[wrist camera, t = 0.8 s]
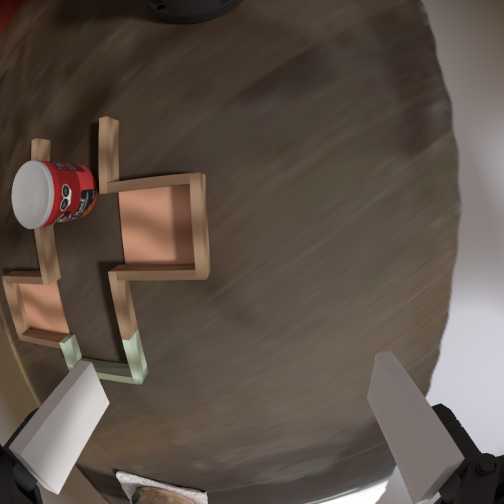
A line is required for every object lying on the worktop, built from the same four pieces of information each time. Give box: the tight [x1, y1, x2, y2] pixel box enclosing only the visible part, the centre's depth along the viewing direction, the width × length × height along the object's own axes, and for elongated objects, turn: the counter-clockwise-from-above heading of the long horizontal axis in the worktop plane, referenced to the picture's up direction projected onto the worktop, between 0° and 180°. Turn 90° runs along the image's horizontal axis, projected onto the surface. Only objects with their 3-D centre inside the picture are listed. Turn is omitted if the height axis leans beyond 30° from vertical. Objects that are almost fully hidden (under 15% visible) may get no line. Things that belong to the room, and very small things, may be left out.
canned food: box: [12, 160, 97, 229], centre depth 29 cm, size 8×8×11 cm
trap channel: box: [2, 116, 211, 385], centre depth 34 cm, size 38×38×4 cm
